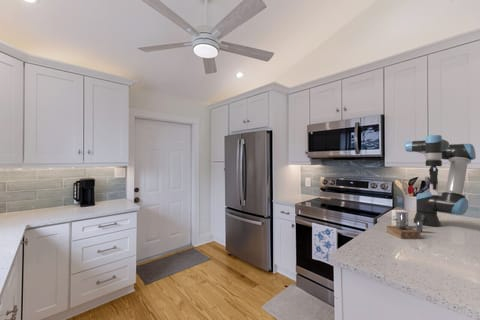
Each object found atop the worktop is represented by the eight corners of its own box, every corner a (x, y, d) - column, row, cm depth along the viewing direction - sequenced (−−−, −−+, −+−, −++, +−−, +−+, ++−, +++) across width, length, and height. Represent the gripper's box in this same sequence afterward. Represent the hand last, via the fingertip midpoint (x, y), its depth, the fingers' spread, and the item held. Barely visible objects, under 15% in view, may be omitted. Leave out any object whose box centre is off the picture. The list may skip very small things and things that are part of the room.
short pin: (420, 231, 140) (420, 220, 139) (423, 232, 137) (423, 222, 137) (415, 230, 140) (415, 220, 140) (417, 232, 137) (418, 221, 137)
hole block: (404, 231, 138) (404, 225, 138) (420, 238, 126) (420, 232, 126) (386, 231, 138) (386, 225, 138) (401, 238, 126) (401, 232, 126)
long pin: (403, 234, 134) (403, 212, 134) (407, 235, 131) (407, 213, 131) (398, 234, 134) (398, 212, 134) (402, 236, 131) (402, 213, 131)
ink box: (403, 226, 151) (403, 210, 151) (408, 228, 146) (408, 211, 146) (391, 225, 151) (391, 209, 151) (395, 228, 146) (395, 211, 146)
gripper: (424, 159, 143) (424, 190, 143) (426, 159, 124) (426, 195, 124) (439, 160, 138) (439, 191, 138) (444, 159, 119) (444, 196, 119)
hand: (433, 193), depth 131 cm, fingers open, 13 cm apart
